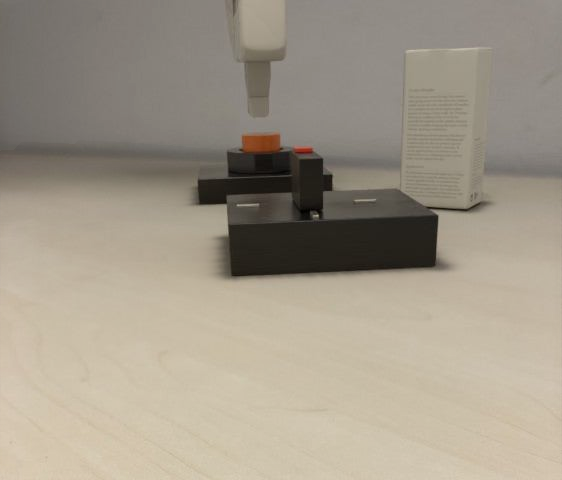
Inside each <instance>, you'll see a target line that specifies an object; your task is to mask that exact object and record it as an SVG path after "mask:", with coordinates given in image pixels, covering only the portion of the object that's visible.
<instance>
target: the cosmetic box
mask: <svg viewBox="0 0 562 480" xmlns="http://www.w3.org/2000/svg"><path fill="white" fill-rule="evenodd" d="M493 51H494V50H493V48H492V47H485V46H484V47H463V48H429V49H428V48H427V49H426V48H425V49H408V50H405V51H404V52H403V82H402V83H403V85H402V87H403V88H402V115H401V117H402V118H401V145H400V172H399V190H400V191H402V192H403V193H405V194H406V195H408V196H410V197H411V198H413V199H414V200H416V201H417V202H419V203H420V204H422V205H423V206H425V207H426V208H438V209H454V210H468V209H470V208H472V207H474V206H475V205H477V204H479V203H480V202H482V199H483V186H484V185H483V184H484V172H485V160H486V147H487V135H488V134H487V132H488V119H489V105H490V94H491V81H492V66H493V53H494V52H493Z"/></svg>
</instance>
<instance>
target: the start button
mask: <svg viewBox="0 0 562 480" xmlns="http://www.w3.org/2000/svg"><path fill="white" fill-rule="evenodd" d="M281 146H282V145H281V133H280V132H268V131H266V132H265V131H264V132H263V131H262V132H248V133H247V132H246V133H243V134H241V147H242V151H245V152H267V151H278V150H281Z"/></svg>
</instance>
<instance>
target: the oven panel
mask: <svg viewBox="0 0 562 480" xmlns="http://www.w3.org/2000/svg"><path fill="white" fill-rule="evenodd" d="M226 200H227V203H226V214H227V216H226V218H227V232H228V246H229V247H228V248H229V260H230V261H229V263H230V274H231V276H233V277H234V276H251V275H274V274H275V275H277V274H294V273H295V274H297V273H315V272H319V273H320V272H338V271H357V270H379V269H381V270H382V269H401V268H403V269H404V268H422V267H423V268H424V267H435V266H436V265H437V249H438V231H439V217H440V216H439V214H437V213H436V212H434V211H433V210H431V209H429V207H425V206H423V205H422V204H420V203H419V202H417V201H416V200H414V199H413V198H411V197H410V196H408V195H406V194H405V193H403V192H402V191H400V188H397V187H396V188H375V189H374V188H373V189H372V188H371V189H349V190H345V189H344V190H332V191H323V210H307V211H300V209H299V208H298V206H297V205H296V203H295V202H294V200H293V199H292V193H269V194H244V195H227V196H226Z"/></svg>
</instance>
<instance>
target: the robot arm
mask: <svg viewBox="0 0 562 480" xmlns="http://www.w3.org/2000/svg"><path fill="white" fill-rule="evenodd" d="M224 3H225V4H224V6H225V12H226V19H227V27H228V33H229V40H230V46H231V51H232V56H233V61H234V62H236V63H243V68H244V70H243V72H244V83H245V90H246V101H247V112H248V114H249V116H250V117H251V118H253V119H254V118H267V117H268V116H269V114H270V89H271V88H270V87H271V79H272V78H271V77H272V72H271V70H272V67H271V64H272V63H271V62H282V61H284V60H285V59H286V55H287V49H288V26H287V24H288V23H287V0H224Z"/></svg>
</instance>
